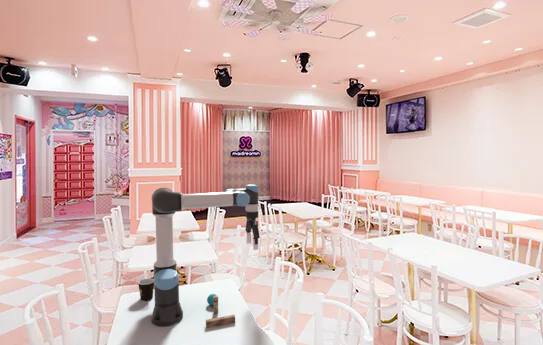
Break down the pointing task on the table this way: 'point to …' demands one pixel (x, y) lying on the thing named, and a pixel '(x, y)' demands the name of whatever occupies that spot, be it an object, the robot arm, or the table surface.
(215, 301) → the pin
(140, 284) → the coffee mug
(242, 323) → the table surface
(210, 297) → the ball
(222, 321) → the back wall
